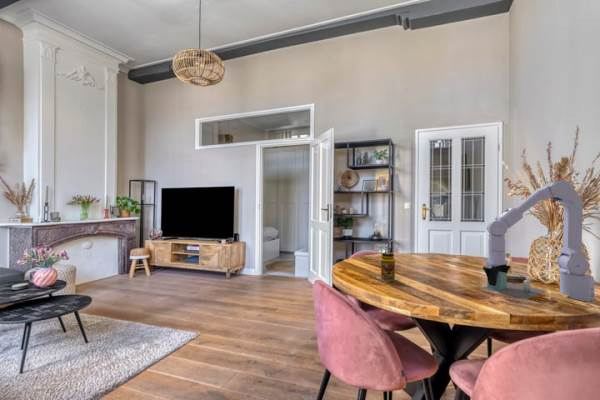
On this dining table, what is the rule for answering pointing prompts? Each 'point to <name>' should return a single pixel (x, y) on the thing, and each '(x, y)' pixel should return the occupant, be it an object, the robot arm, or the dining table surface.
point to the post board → (518, 290)
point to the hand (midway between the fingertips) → (496, 283)
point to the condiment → (387, 267)
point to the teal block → (499, 281)
